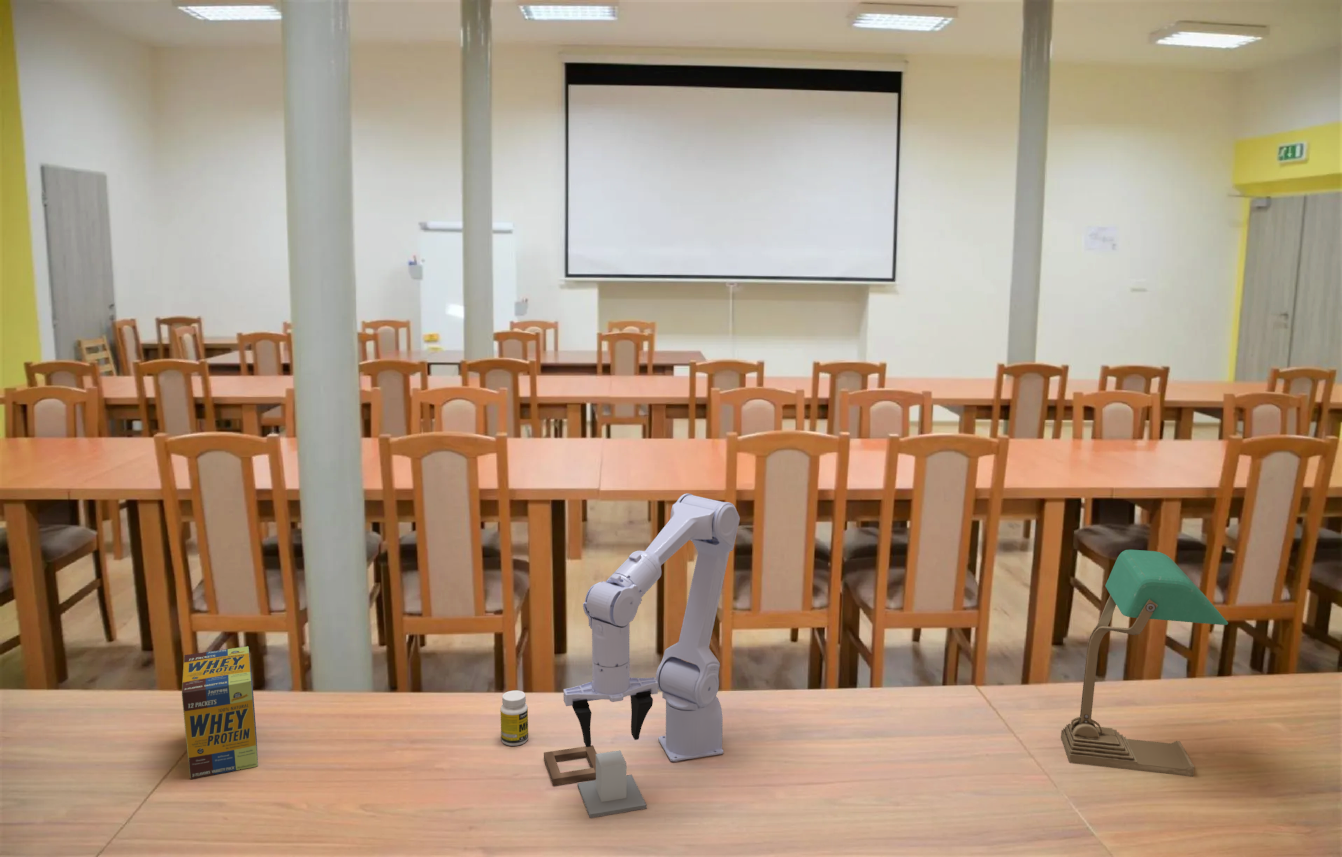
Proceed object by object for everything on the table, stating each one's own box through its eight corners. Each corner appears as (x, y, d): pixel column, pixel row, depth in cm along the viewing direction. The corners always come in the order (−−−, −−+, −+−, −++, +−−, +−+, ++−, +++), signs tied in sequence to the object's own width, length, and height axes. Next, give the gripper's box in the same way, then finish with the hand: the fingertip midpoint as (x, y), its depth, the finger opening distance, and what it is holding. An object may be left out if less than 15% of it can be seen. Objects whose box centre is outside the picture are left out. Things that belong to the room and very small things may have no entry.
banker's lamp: (1057, 727, 181) (1075, 543, 174) (1181, 740, 177) (1205, 552, 170) (1073, 774, 166) (1093, 574, 159) (1209, 789, 162) (1236, 584, 154)
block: (620, 784, 160) (620, 750, 159) (626, 797, 157) (626, 763, 156) (595, 788, 159) (595, 753, 158) (601, 801, 156) (601, 767, 154)
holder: (593, 751, 171) (593, 745, 171) (604, 777, 163) (604, 771, 163) (543, 758, 169) (543, 752, 169) (553, 785, 161) (553, 779, 161)
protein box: (189, 780, 162) (180, 692, 158) (191, 736, 175) (183, 653, 172) (259, 767, 166) (252, 680, 163) (255, 724, 180) (249, 644, 176)
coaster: (631, 777, 163) (631, 774, 163) (646, 808, 155) (646, 804, 155) (577, 786, 161) (577, 783, 161) (589, 818, 152) (589, 814, 152)
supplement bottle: (522, 748, 172) (521, 703, 171) (497, 745, 173) (495, 700, 172) (532, 734, 177) (531, 690, 175) (507, 731, 178) (505, 687, 176)
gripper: (569, 676, 147) (570, 760, 150) (663, 664, 151) (663, 746, 154) (560, 656, 154) (561, 737, 157) (650, 645, 158) (650, 724, 161)
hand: (611, 740), depth 156 cm, fingers open, 7 cm apart
